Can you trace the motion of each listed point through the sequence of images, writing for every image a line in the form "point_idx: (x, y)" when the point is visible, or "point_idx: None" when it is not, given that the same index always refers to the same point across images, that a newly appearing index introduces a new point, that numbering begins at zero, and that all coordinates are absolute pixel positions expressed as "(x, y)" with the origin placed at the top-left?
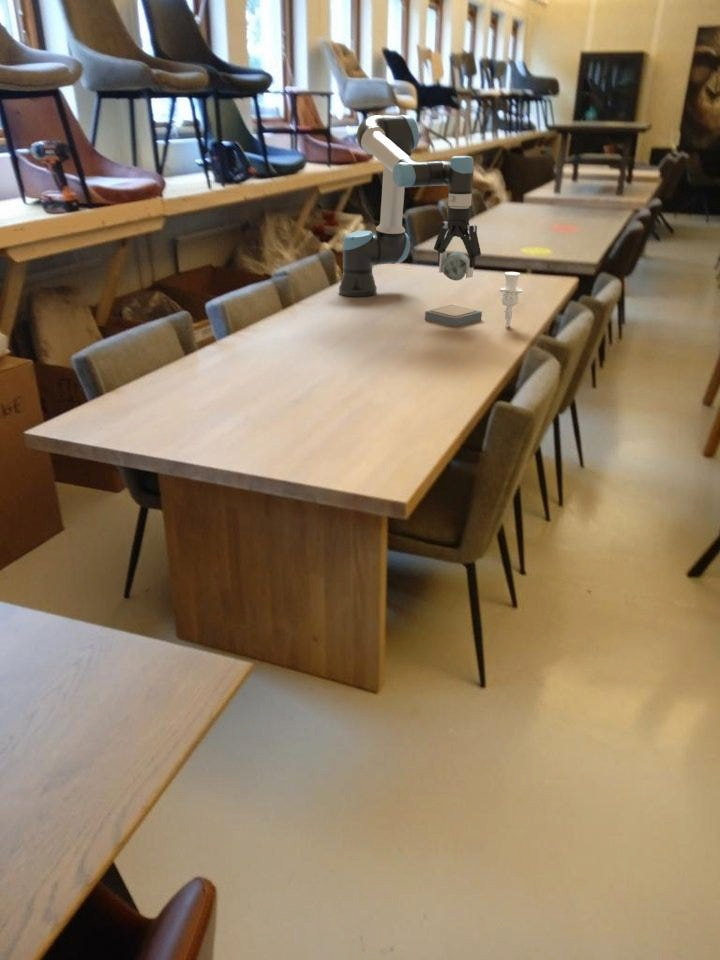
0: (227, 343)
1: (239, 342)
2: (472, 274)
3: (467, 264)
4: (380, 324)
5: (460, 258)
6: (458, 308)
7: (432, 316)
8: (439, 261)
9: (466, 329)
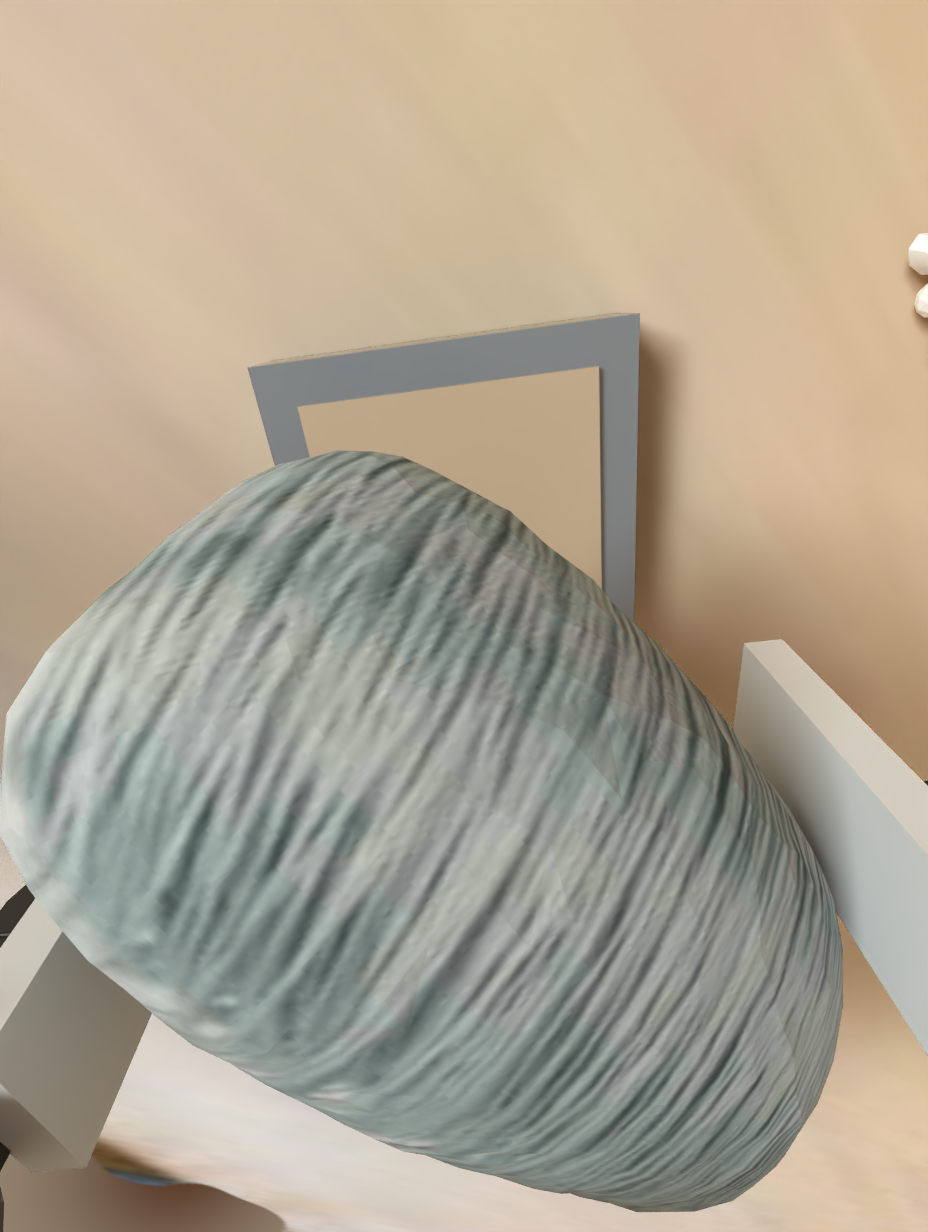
0: (266, 1198)
1: (273, 1184)
2: (800, 666)
3: (871, 930)
4: None
5: (795, 1135)
6: (432, 442)
7: None
8: None
9: (699, 598)
